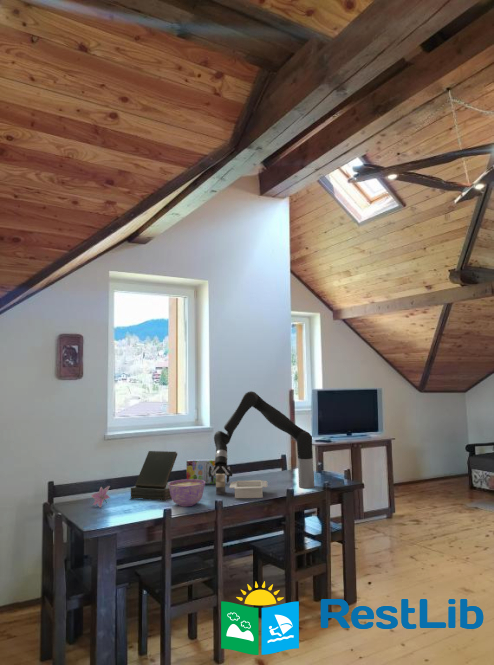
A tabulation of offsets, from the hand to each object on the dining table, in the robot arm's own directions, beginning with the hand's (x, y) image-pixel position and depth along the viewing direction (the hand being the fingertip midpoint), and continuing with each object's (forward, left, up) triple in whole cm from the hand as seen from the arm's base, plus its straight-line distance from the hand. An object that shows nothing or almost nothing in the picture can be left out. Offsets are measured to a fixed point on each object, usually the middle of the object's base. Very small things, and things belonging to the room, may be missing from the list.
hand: (220, 481), depth 281 cm
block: (0, -1, -7) cm, 7 cm away
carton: (-17, +5, -7) cm, 19 cm away
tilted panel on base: (+37, +1, -7) cm, 38 cm away
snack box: (+14, -33, -7) cm, 37 cm away
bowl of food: (+16, +25, -7) cm, 30 cm away
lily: (+64, +21, -7) cm, 68 cm away
